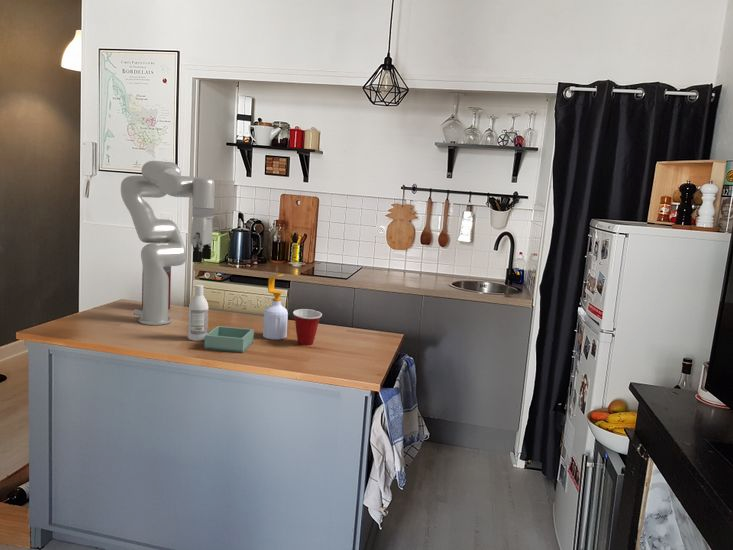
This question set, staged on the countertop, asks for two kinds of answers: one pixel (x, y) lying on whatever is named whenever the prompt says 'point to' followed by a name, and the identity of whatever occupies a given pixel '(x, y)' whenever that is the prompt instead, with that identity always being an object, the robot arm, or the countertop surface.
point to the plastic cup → (306, 325)
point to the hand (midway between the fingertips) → (201, 260)
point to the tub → (229, 339)
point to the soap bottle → (275, 315)
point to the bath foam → (198, 316)
